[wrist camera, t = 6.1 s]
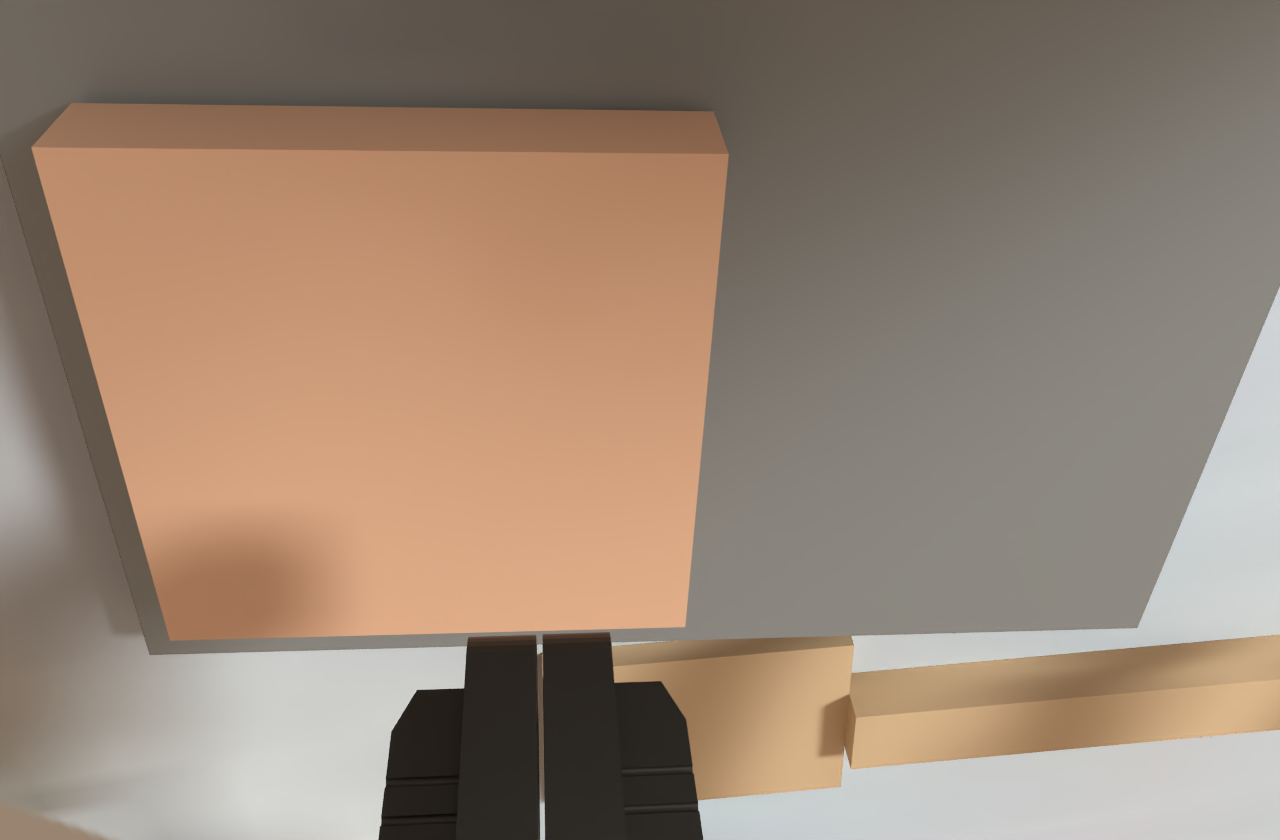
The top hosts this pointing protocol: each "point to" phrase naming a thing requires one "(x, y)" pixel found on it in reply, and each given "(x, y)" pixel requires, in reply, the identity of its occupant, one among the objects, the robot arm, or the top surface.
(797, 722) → the turner
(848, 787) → the top surface
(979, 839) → the top surface
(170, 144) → the tile
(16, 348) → the top surface
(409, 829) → the robot arm
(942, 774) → the top surface
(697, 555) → the board
